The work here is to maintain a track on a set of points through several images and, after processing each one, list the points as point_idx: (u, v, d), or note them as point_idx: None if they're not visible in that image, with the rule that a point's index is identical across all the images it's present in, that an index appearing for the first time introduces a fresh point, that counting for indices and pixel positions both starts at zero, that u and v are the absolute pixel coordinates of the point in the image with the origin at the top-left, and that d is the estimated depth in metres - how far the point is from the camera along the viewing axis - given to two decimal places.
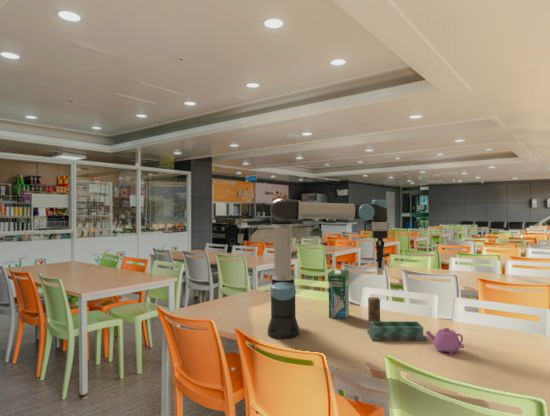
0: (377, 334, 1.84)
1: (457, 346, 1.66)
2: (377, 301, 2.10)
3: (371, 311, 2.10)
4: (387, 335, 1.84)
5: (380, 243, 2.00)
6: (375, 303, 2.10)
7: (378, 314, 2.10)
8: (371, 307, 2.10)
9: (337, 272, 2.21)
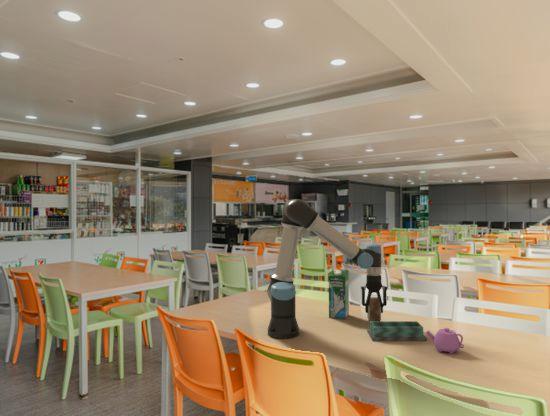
0: (377, 334, 1.84)
1: (457, 346, 1.66)
2: (377, 301, 2.10)
3: (371, 311, 2.10)
4: (387, 335, 1.84)
5: (361, 289, 2.12)
6: (375, 303, 2.10)
7: (378, 314, 2.10)
8: (371, 307, 2.10)
9: (337, 272, 2.21)
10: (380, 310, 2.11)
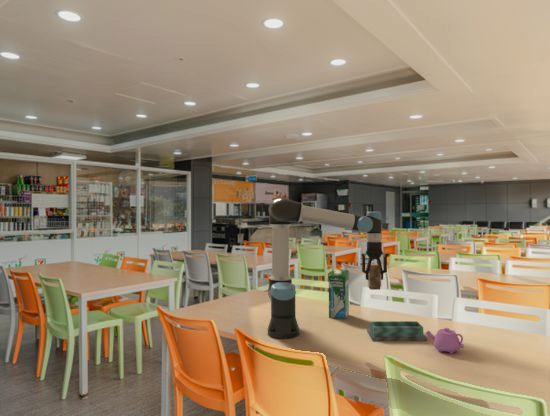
0: (377, 334, 1.84)
1: (457, 346, 1.66)
2: (377, 267, 2.09)
3: (371, 278, 2.09)
4: (387, 335, 1.84)
5: (362, 256, 2.11)
6: (376, 270, 2.09)
7: (378, 281, 2.09)
8: (371, 274, 2.09)
9: (337, 272, 2.21)
10: (380, 277, 2.10)
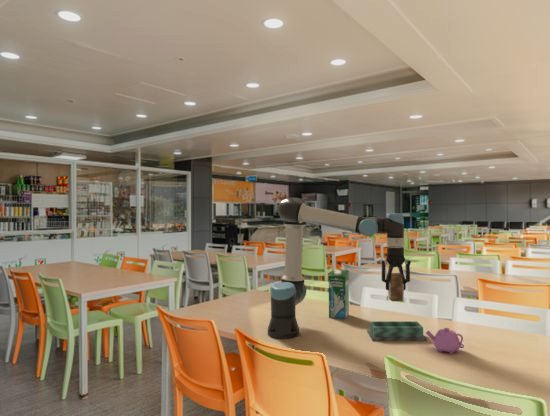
0: (377, 334, 1.84)
1: (457, 346, 1.66)
2: (399, 276, 1.86)
3: (392, 288, 1.86)
4: (387, 335, 1.84)
5: (381, 263, 1.88)
6: (398, 279, 1.86)
7: (400, 291, 1.86)
8: (392, 283, 1.86)
9: (337, 272, 2.21)
10: (403, 287, 1.87)
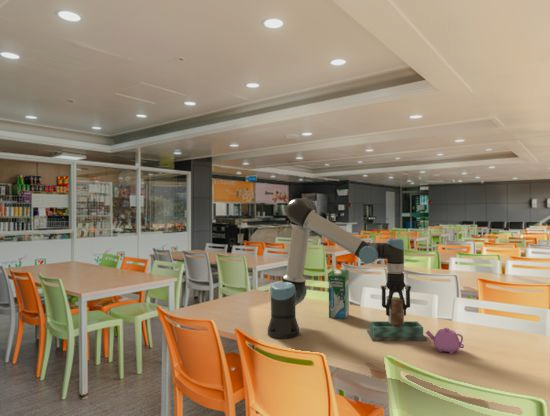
0: (377, 334, 1.84)
1: (457, 346, 1.66)
2: (399, 302, 1.86)
3: (393, 314, 1.86)
4: (387, 335, 1.84)
5: None
6: (398, 305, 1.86)
7: (401, 317, 1.86)
8: (393, 309, 1.86)
9: (337, 272, 2.21)
10: (403, 312, 1.87)
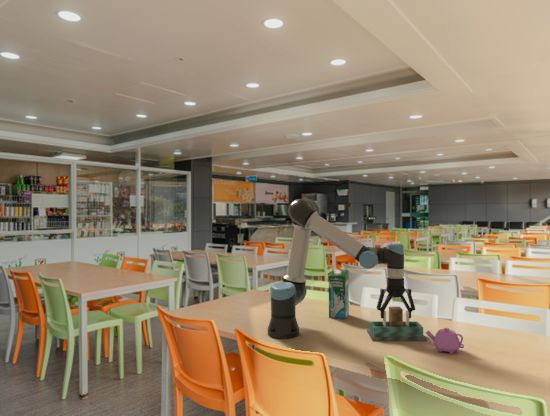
0: (377, 334, 1.84)
1: (457, 346, 1.66)
2: (399, 311, 1.86)
3: (393, 322, 1.86)
4: (387, 335, 1.84)
5: (381, 291, 1.88)
6: (398, 313, 1.86)
7: (400, 326, 1.86)
8: (393, 318, 1.86)
9: (337, 272, 2.21)
10: (408, 315, 1.87)
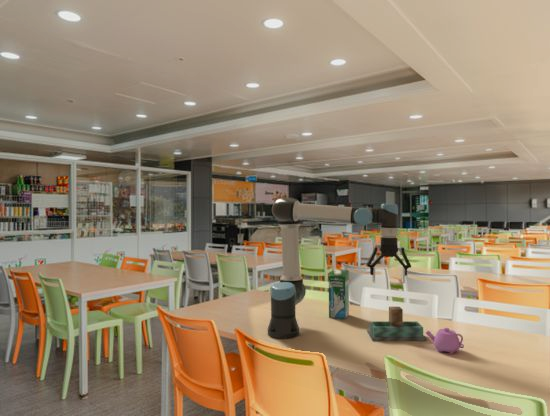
0: (377, 334, 1.84)
1: (457, 346, 1.66)
2: (399, 311, 1.86)
3: (393, 322, 1.86)
4: (387, 335, 1.84)
5: (374, 249, 1.90)
6: (398, 313, 1.86)
7: (400, 326, 1.86)
8: (393, 318, 1.86)
9: (337, 272, 2.21)
10: (404, 272, 1.89)
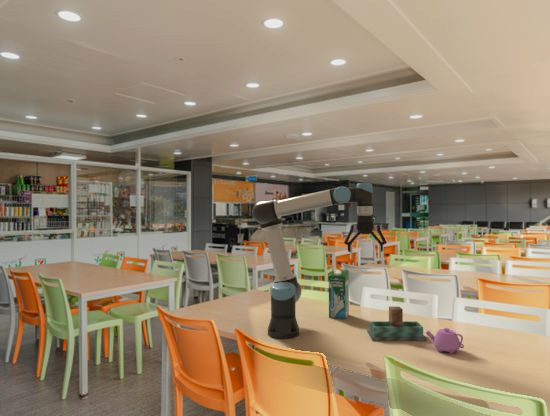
0: (377, 334, 1.84)
1: (457, 346, 1.66)
2: (399, 311, 1.86)
3: (393, 322, 1.86)
4: (387, 335, 1.84)
5: (350, 227, 1.98)
6: (398, 313, 1.86)
7: (400, 326, 1.86)
8: (393, 318, 1.86)
9: (337, 272, 2.21)
10: (380, 248, 1.97)
